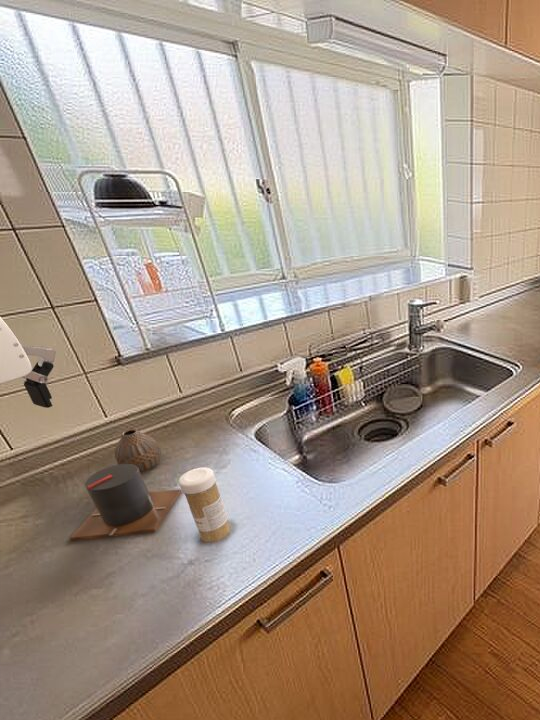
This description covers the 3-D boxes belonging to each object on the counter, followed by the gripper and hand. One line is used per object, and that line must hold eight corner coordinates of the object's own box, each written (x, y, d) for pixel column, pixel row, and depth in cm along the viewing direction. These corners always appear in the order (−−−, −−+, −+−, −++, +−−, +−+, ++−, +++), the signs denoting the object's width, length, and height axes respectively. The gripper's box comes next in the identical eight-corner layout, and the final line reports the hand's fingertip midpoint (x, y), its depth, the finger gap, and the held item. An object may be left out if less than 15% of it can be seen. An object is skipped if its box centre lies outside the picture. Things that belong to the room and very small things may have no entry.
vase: (158, 453, 91) (144, 419, 87) (170, 466, 88) (157, 431, 84) (117, 468, 86) (101, 433, 82) (129, 483, 83) (112, 446, 79)
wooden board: (70, 546, 69) (66, 539, 68) (111, 500, 78) (107, 493, 78) (155, 537, 72) (152, 530, 71) (184, 493, 81) (182, 486, 80)
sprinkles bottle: (197, 538, 72) (172, 477, 66) (225, 522, 75) (204, 462, 69) (209, 551, 70) (185, 489, 64) (238, 534, 73) (218, 473, 67)
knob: (137, 494, 78) (121, 458, 74) (162, 504, 76) (147, 468, 72) (94, 518, 72) (74, 481, 69) (120, 530, 71) (101, 493, 67)
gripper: (10, 289, 63) (56, 390, 70) (-192, 322, 48) (-105, 445, 55) (45, 297, 61) (88, 400, 69) (-153, 334, 46) (-69, 459, 54)
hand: (2, 420), depth 62 cm, fingers open, 9 cm apart
